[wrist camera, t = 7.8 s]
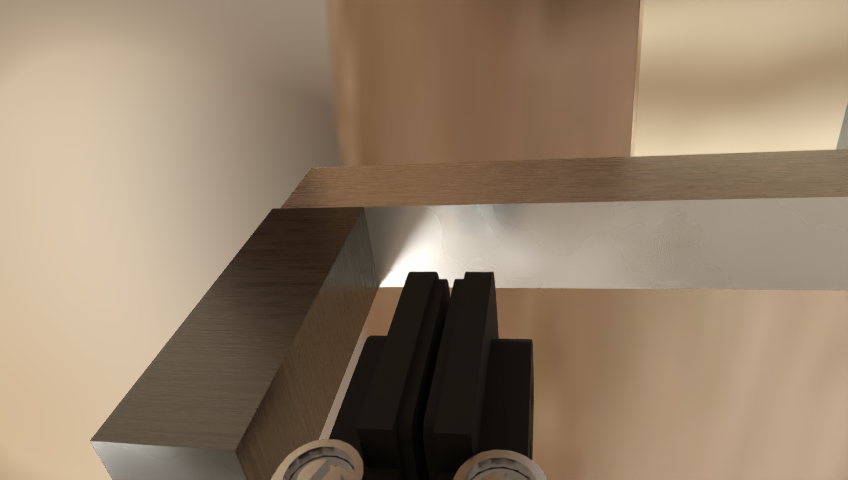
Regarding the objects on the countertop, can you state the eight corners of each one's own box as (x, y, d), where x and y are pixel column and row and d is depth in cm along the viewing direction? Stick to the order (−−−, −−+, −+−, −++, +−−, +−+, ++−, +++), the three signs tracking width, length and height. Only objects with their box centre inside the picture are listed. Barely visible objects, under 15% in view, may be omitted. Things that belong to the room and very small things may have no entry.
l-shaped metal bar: (1127, 232, 14) (1874, 715, 6) (321, 240, 18) (144, 536, 10) (1179, 137, 13) (2198, 586, 5) (304, 168, 17) (89, 440, 9)
